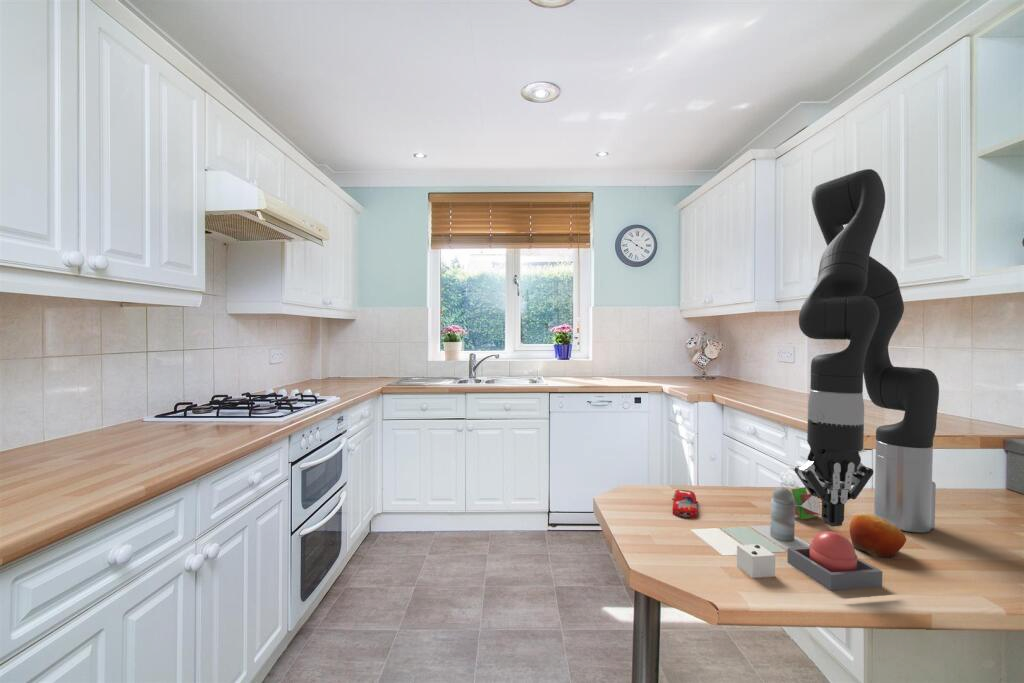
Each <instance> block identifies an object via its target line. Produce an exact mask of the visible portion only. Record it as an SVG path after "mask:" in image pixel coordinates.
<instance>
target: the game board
mask: <svg viewBox="0 0 1024 683" xmlns="http://www.w3.org/2000/svg"><path fill="white" fill-rule="evenodd" d="M770 528H771V524H769V525H766V524H765V525H752V526H733V527H731V526H730V527H729V526H727V527H719V528H718V527H714V528H710V527H709V528H695V529H693V528H692V529H690V531H691V532H692V533H693V534H695V535H696V536H697V537H699V539H701V540H702V541H703V542H705V543H706V544H707V545H709V546H710V547H711V548H713V549H714V550H715V551H716V552H718V553H719V554H720V555H721V556H723V557H725V556H737V545H751V544H759V545H761V546H762V547H764V548H765V549H767V550H768V551H770V552H771V553H773V554H775V553H786V552H787V553H788V548H797V547H810V543H808V542H806V541H805V540H803V539H801V538H799V537H798V536H796V535H794V541H792V542H784V541H779V540H776V539H774V538H772V537H771V536H770Z"/></svg>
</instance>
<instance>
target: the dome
mask: <svg viewBox="0 0 1024 683" xmlns="http://www.w3.org/2000/svg"><path fill="white" fill-rule="evenodd" d="M809 544H810V543H809ZM857 558H858V555H857V554H856V549H854V547H853V544H852V542H851V541H849V539H848V538H846V537H845V536H843V534H841V533H838V532H835V531H822V532H820V533H819V532H818V533H817V534H816V535H815V536H814V537H813V539H812V540H811V544H810V554H809V559H810V560H812V561H814V562H815V563H817V564H819V565H820V566H822V567H823V568H825V569H827V570H828V571H830V572H844V571H857Z"/></svg>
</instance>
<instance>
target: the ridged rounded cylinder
mask: <svg viewBox="0 0 1024 683" xmlns="http://www.w3.org/2000/svg"><path fill="white" fill-rule="evenodd" d="M771 497H772V498H771V499H770V525H771V528H770V536H771V537H772V538H774V539H776V540H779V541H784V542H792V541H794V536H795V529H796V528H795V527H796V525H795V522H796V516H795V515H796V513H795V502H794V496H793V493H792V490H791V489H789V488H786V487H777V488H775V489H774V490H773V492H772V496H771Z"/></svg>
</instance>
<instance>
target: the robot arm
mask: <svg viewBox="0 0 1024 683" xmlns="http://www.w3.org/2000/svg"><path fill="white" fill-rule="evenodd" d="M811 204H812V209H813V212H814V216H815V217H816V218H815V219H816V221H817V223H818V226H819V229H820V232H821V234H822V236H823V238H824V241H825V243H826V245H827V247H826V248H825V250H824V251H823V253H822V255H821V258H820V262H819V267H818V272H817V279H816V283H815V285H814V286H813V288H812V290H811V292H810V293H808V296H807V298H805V300H804V302H803V304H802V306H801V308H800V311H799V315H798V326H799V329H800V331H801V332H802V333H803V335H805V336H806V337H808V338H809V339H813V340H838V341H839V340H843V341H846V340H849V343H848V346H847V347H846V348H845V349H843V350H841V351H837V352H831V353H824V354H818V355H816V356H814V357H813V358H812V359H811V362H810V363H811V364H810V385H809V386H810V387H809V388H810V390H809V396H808V404H807V436H806V437H807V438H806V439H807V440H806V441H807V445H808V446H809V448H810V450H809V453H808V455H807V462H806V463H805V464H803V465H802V466H795V468H794V473H795V474H796V476H797V477H798V479H799V480H800V482H801V483H802V484H803V485H804V488H805V487H806V488H807V489H806V491H807V492H808V494H811V495H812V496H815V497H816V498H817V499H818V498H819V499H820V501H821V502H822V503H821V519H822V520H823V522H824V523H825V524H827V525H828V526H831V527H842V526H843V523H844V520H845V504H847V502H848V501H849V500H851V499H852V500H856V499H857V498H858V496H859V495H860V493H861V492H862V491H863V489H864V488H865V487H866V485H867V483H868V482H869V481H870V479H871V478H872V476H873V475H874V502H873V503H874V504H873V506H874V508H873V515H875V516H877V517H879V518H882V519H884V520H886V521H888V522H890V523H892V524H894V525H896V526H897V527H898V528H899V529H900V530H901V531H903V532H904V531H905V532H909V533H910V532H912V533H922V534H923V533H928V532H931V530H932V529H935V527H936V492H937V490H936V488H937V484H936V482H934V481H933V454H934V453H933V452H934V438H935V435H936V434H935V433H936V432H937V431H936V430H937V421H938V409H939V408H938V407H939V399H940V398H939V397H940V384H939V380H938V377H937V376H936V374H935V373H934V372H933V371H932V370H930V369H928V368H921V367H905V366H894V365H893V363H892V362H891V359H890V354H889V344H890V341H891V338H892V336H893V335H894V333H895V331H896V330H897V327H898V326H899V324H900V322H901V320H902V318H903V315H904V313H905V312H904V311H905V305H904V300H903V296H902V292H901V290H900V289H901V288H900V285H899V282H898V278H897V277H896V275H895V274H894V273H893V272H892V271H891V270H890V269H889V268H888V267H886V266H885V265H884V264H882V263H881V262H879V261H878V260H877V259H875V258H874V257H872V256H871V255H870V254H871V249H872V247H873V242H874V240H875V237H876V235H877V232H878V229H879V226H880V222H881V220H882V217H883V215H884V214H883V213H884V210H885V205H886V191H885V186H884V183H883V181H882V178H881V176H880V174H879V173H878V172H877V171H876V170H875V169H870V168H869V169H868V168H867V169H865V168H864V169H861V170H857V171H854V172H851V173H849V174H846V175H843V176H840V177H838V178H834V179H831V180H828V181H826V182H823V183H821V184H819V185H816V186H815V187H814V188H813V189H812V192H811ZM845 225H846V226H845ZM864 383H865V384H864ZM864 385H865V388H866V392H867V395H868V397H869V399H870V401H871V402H872V403H873V404H874V405H875V406H877V407H878V408H881V409H888V410H894V411H903V412H904V414H903V415H904V416H903V418H902V420H901V421H899V422H897V423H894V424H892V423H891V424H885V425H879V426H877V428H876V429H875V459H874V460H875V461H874V462H875V463H874V464H875V466H874V469H873V468H870V467H867V466H865V465H864V464H863V463H862V457H861V456H860V453H859V452H861V451H863V449H864V435H865V434H864V432H865V429H864V428H865V401H864V395H863V394H864V393H863V392H864V391H863V390H864Z"/></svg>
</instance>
